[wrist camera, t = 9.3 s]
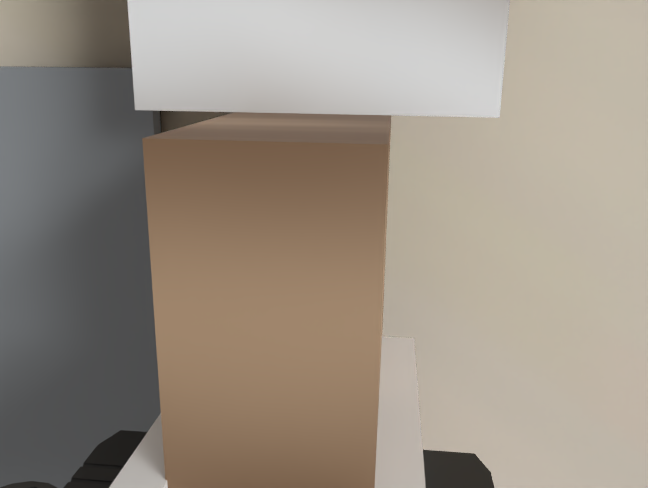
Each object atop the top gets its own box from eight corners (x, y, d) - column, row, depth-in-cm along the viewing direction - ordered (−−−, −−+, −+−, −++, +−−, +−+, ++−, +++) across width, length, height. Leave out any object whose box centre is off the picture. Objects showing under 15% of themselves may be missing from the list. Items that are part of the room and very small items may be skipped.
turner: (449, 583, 16) (479, 868, 10) (187, 558, 17) (80, 812, 11) (528, -365, 11) (683, -868, 5) (134, -342, 11) (-133, -759, 6)
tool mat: (195, 719, 22) (190, 734, 21) (-19, 693, 23) (-28, 707, 22) (157, 68, 16) (150, 68, 16) (-129, 65, 17) (-145, 64, 16)
